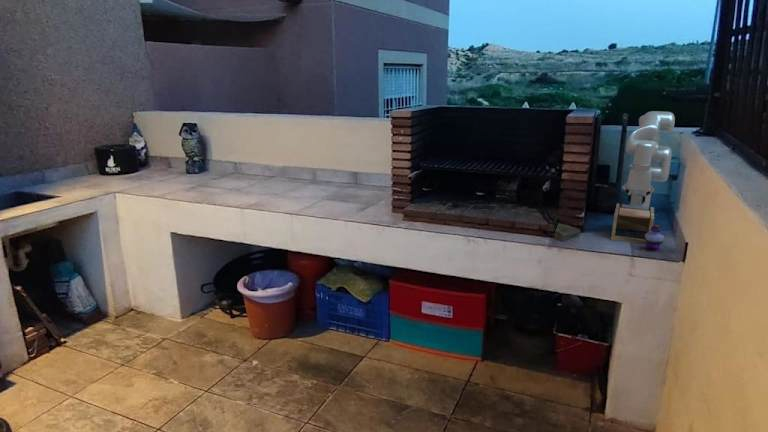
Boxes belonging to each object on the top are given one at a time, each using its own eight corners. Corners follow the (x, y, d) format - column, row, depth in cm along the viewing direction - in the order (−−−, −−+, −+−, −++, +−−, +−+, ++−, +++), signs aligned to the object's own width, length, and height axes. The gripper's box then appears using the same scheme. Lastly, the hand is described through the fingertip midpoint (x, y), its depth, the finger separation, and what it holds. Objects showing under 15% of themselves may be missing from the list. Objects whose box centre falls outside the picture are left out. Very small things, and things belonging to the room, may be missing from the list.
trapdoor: (619, 211, 271) (620, 204, 270) (649, 214, 265) (650, 207, 264) (617, 219, 256) (618, 212, 255) (649, 223, 250) (650, 215, 249)
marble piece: (562, 242, 254) (563, 234, 253) (539, 234, 266) (540, 227, 264) (582, 236, 263) (583, 228, 262) (559, 229, 275) (560, 221, 273)
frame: (613, 226, 278) (617, 202, 274) (649, 231, 270) (653, 206, 266) (610, 239, 257) (614, 213, 253) (650, 245, 249) (654, 218, 245)
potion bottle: (664, 252, 239) (668, 228, 235) (644, 250, 241) (648, 227, 237) (660, 246, 247) (664, 223, 243) (640, 245, 249) (644, 222, 245)
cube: (630, 204, 252) (631, 194, 250) (630, 202, 256) (631, 192, 255) (641, 205, 250) (642, 196, 248) (641, 203, 254) (642, 193, 253)
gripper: (622, 167, 248) (617, 202, 253) (660, 170, 241) (654, 206, 246) (622, 164, 255) (617, 199, 260) (660, 167, 247) (654, 203, 252)
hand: (635, 202), depth 253 cm, fingers closed on cube, 5 cm apart
